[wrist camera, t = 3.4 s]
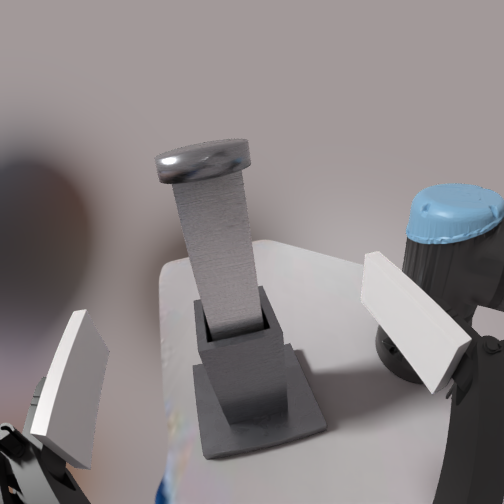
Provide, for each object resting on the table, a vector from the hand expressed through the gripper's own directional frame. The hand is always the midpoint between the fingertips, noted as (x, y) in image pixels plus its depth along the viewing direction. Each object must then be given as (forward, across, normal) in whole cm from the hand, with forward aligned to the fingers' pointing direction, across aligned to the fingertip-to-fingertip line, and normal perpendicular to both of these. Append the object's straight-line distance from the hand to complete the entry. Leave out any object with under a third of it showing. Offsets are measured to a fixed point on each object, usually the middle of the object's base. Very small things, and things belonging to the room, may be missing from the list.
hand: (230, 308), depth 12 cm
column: (+10, 0, -22) cm, 24 cm away
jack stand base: (+10, 0, -24) cm, 26 cm away
